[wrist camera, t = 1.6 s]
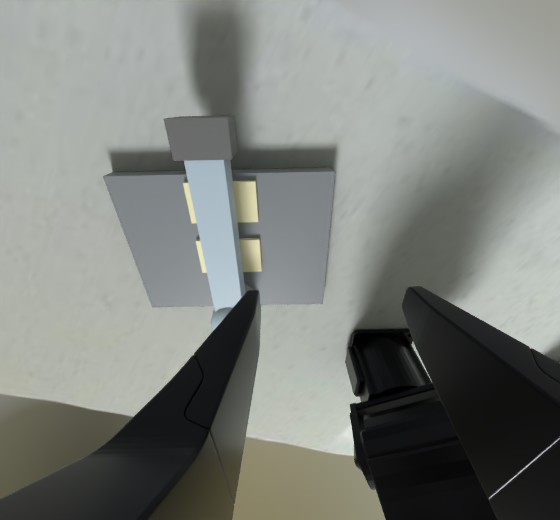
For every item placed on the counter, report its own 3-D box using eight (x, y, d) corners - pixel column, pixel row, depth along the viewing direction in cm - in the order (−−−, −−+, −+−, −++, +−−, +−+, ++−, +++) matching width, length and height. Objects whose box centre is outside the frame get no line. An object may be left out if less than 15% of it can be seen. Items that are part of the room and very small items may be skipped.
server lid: (332, 167, 18) (337, 174, 17) (320, 301, 25) (323, 316, 23) (112, 172, 18) (95, 179, 17) (159, 305, 25) (151, 319, 24)
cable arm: (254, 317, 23) (252, 338, 21) (219, 318, 23) (213, 338, 21) (234, 115, 15) (227, 117, 13) (179, 116, 15) (163, 118, 13)
